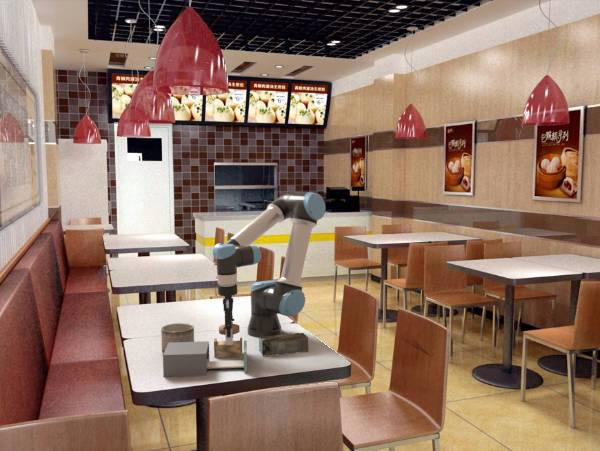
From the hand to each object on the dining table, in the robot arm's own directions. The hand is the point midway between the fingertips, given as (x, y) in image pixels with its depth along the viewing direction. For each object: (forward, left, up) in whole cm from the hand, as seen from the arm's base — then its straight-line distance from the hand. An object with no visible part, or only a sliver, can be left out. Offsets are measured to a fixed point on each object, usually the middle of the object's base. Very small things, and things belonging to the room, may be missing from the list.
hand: (229, 341), depth 222 cm
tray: (+1, +14, -5) cm, 15 cm away
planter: (+21, -5, -6) cm, 22 cm away
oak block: (+1, 0, -5) cm, 6 cm away
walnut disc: (0, 0, +4) cm, 4 cm away
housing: (+15, +14, -5) cm, 22 cm away
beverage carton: (-21, -2, -6) cm, 22 cm away
